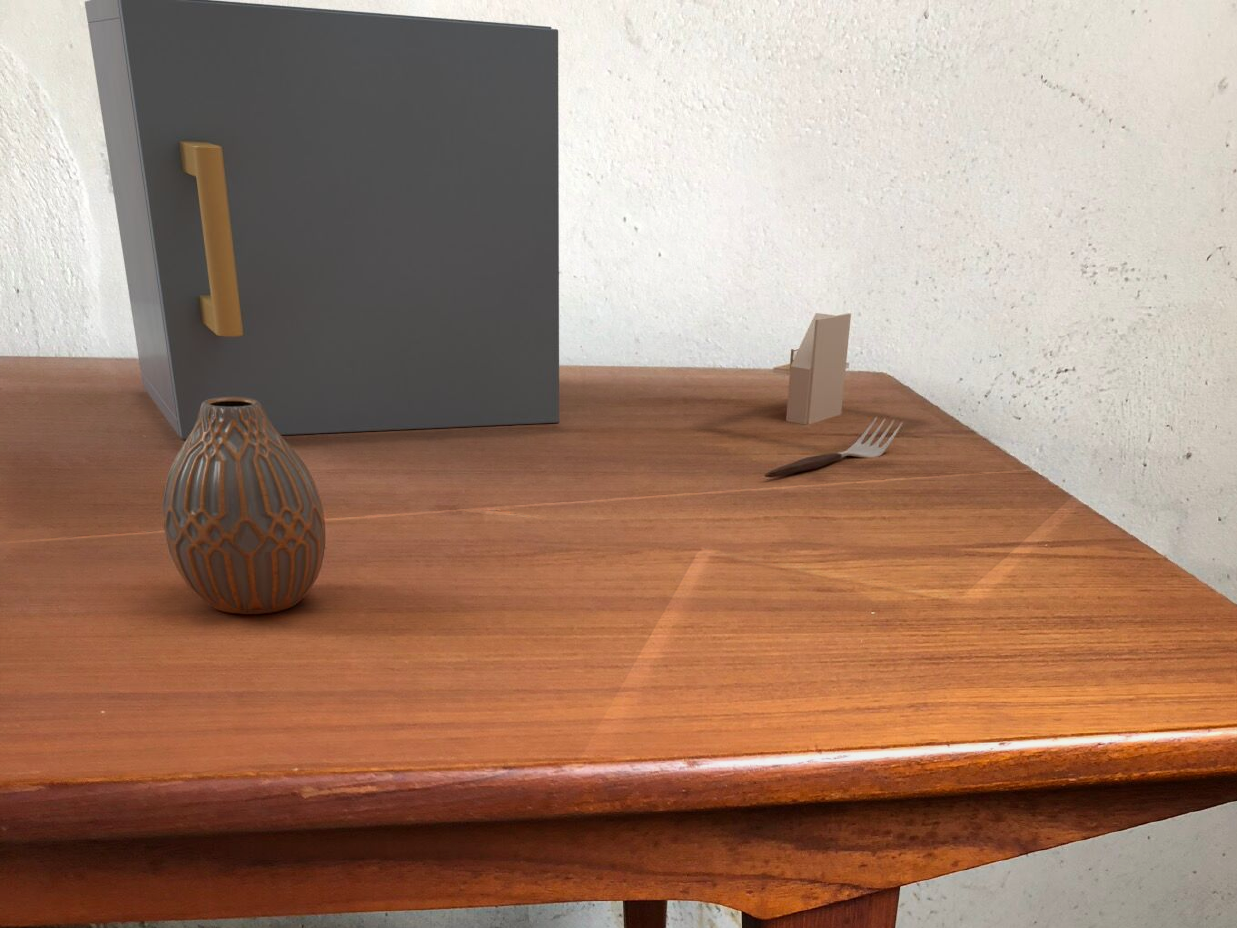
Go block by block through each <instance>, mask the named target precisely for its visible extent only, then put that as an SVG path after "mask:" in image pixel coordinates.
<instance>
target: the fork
mask: <svg viewBox="0 0 1237 928" xmlns="http://www.w3.org/2000/svg"><path fill="white" fill-rule="evenodd" d="M877 420H878V416H876V417H875V418H874V419H873V420H872V422H871V423H870V424H869V426H868V427H867V428H866V429H865V431H864V432H863V433H862V434H861V436H860V437H859V438H858V439H857V440H855V441H856V442H854V443H853V444H852V445H851V446H849V447H848V448H847V449H846V450H844V451H839V452H834V453H825V454H819V455H813V456H808V457H804V458H801V459H799V460H796V461H793V462H791V463H788V464H786V465H783V466H779V467H777V468H775V469H772V470H770V471H768V472H767V473H765V474H764V477H766V478H777V477H783V476H786V475H787V476H788V475H791V474H794V473H799V472H805V471H810V470H816V469H819V468H822V467H824V466H827V465H828V464H831V463H833V462H835V461H838V460H840V459H841V458H844V457H846V456H848V457H850V456H851V457H855V458H860V459H861V458H862V459H875V458H879V457H880V456H882V455H883V454H884V453H885V452H886V450H887V449H888V447H889V446H890V445H891V443H892V442H893V440H894V439H895V437H896V436H897V434H898V433H899V431H900V429H901V428H902V426H903V425H904V422H903V421H901V422H900V424H899V425H898V426H897V428H896V429H895V430H894V431H893V433H892V434H891V436H890V437H889V438H888V439H887V441H886V442H885V443H884V444H883V445H881V444H882V442H883V441H884V439H885V438H886V436H887V434H888V433H889V431H890V430H891V428H892V426H893V425H894V423H895V419H893V420H892V421H891V423H889V425H888V426H887V428H886V429H885V431H883V433H882V434H881V436H880V437H879V438H878V439H877V440H876V442H874V444H872V442H873V441H874V439H875V438H876V437H877V435H878V434H879V432H880V431H881V429H882V427H883V426H884V424H885V422H886V418H884V419H883V420H882V422H881V423H880V424H879V425H878V427H877V428H876V429H875V431H873V433H872V434H871V436H870V437H869V438H868V439H867V440H866V441H865V442H863V441H864V440H865V438H866V437H867V435H868V434H869V432H870V431H871V430H872V428H873V426H874V425H875V423H876V422H877ZM880 445H881V446H880Z"/></svg>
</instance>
